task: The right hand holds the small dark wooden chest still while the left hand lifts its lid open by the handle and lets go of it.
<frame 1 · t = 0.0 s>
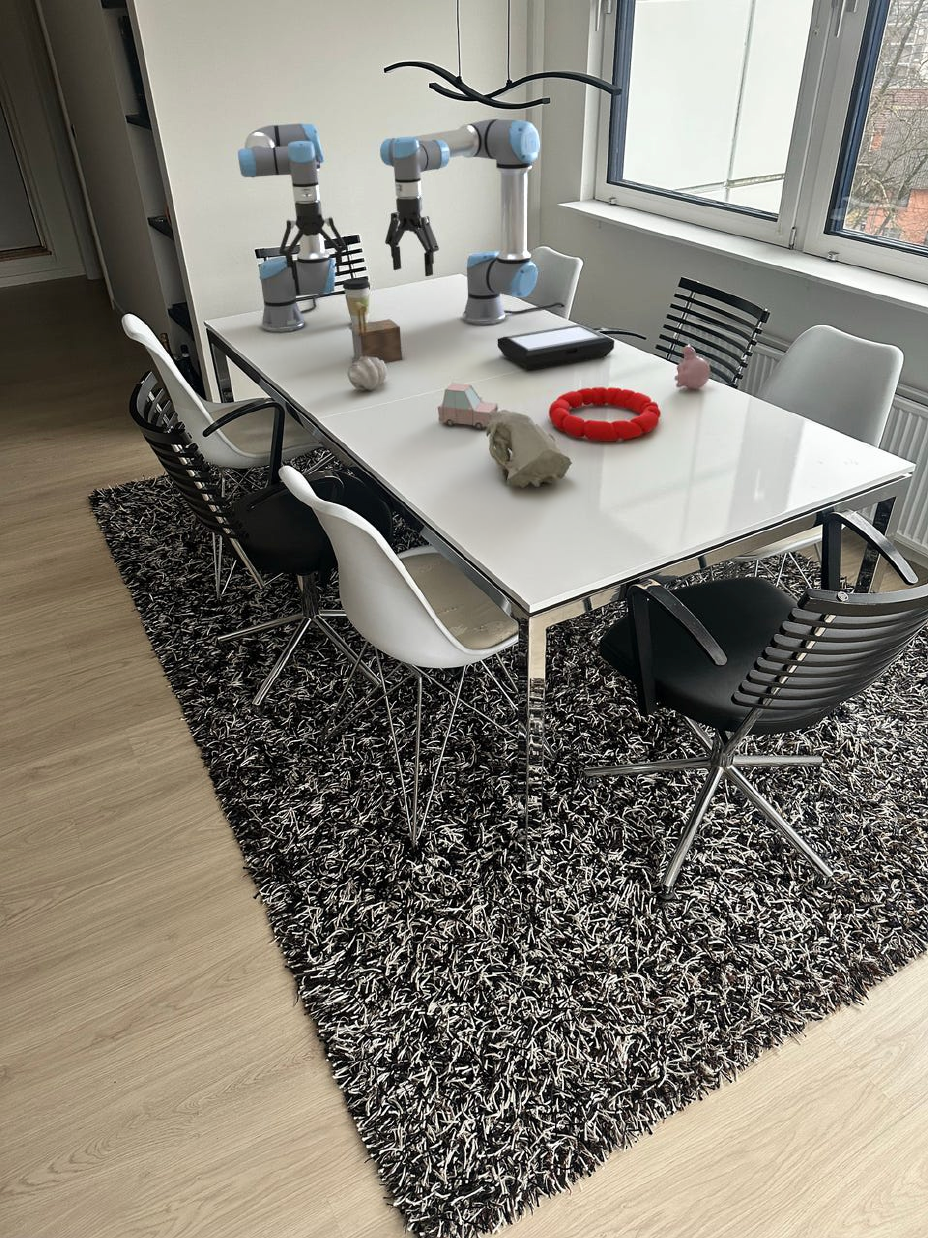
left hand: (316, 276, 273), 28 cm above the table, tool pointing down, fingers open, 13 cm apart
right hand: (413, 272, 274), 28 cm above the table, tool pointing down, fingers open, 13 cm apart
lid: (373, 315, 286), point 14 cm above the table, hinge at 0.0°
coffee cup: (360, 323, 327), on the table
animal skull: (520, 470, 220), on the table
electronic device: (555, 356, 290), on the table
seashell: (369, 389, 270), on the table
figurine: (690, 388, 263), on the table
toy car: (468, 423, 246), on the table
decorative ring: (603, 422, 244), on the table
chest: (378, 358, 294), on the table
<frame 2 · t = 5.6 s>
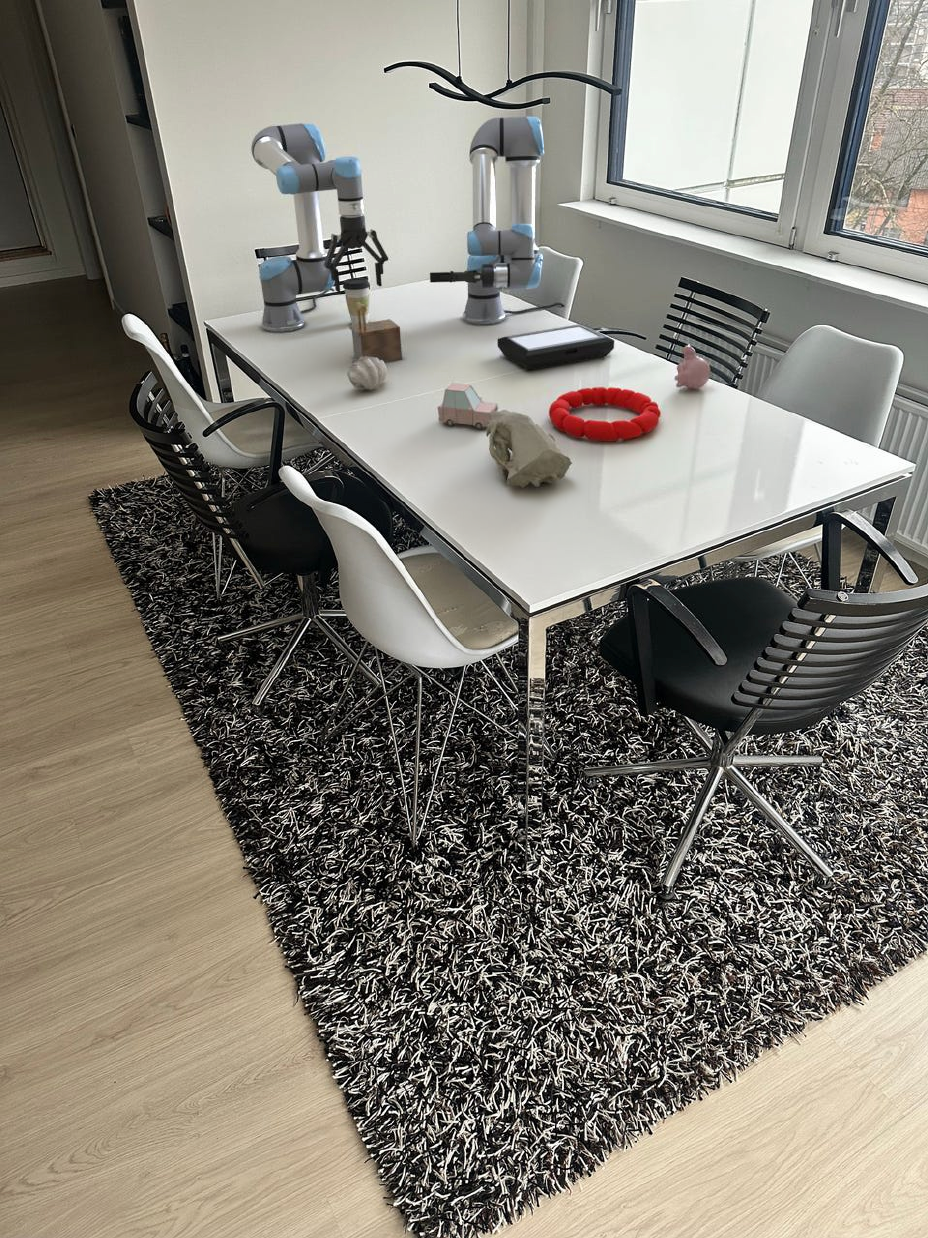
left hand: (358, 288, 279), 23 cm above the table, tool pointing down, fingers open, 13 cm apart
right hand: (429, 277, 295), 21 cm above the table, tool horizontal, fingers open, 13 cm apart
nothing on the table moved.
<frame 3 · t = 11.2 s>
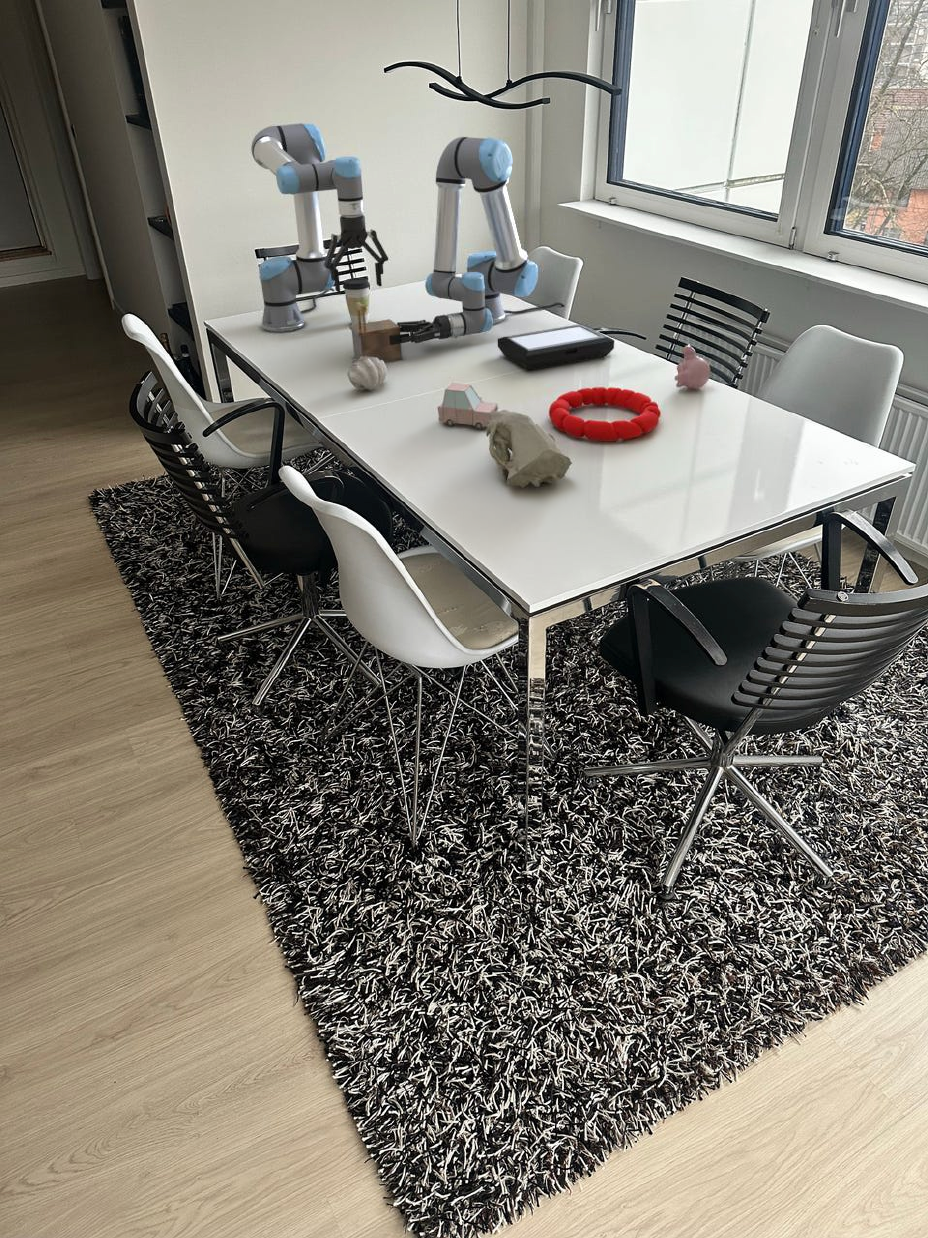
left hand: (358, 288, 279), 23 cm above the table, tool pointing down, fingers open, 13 cm apart
right hand: (384, 336, 291), 7 cm above the table, tool horizontal, fingers closed on chest, 10 cm apart
chest: (378, 358, 294), on the table, touching right hand
everything else where it was.
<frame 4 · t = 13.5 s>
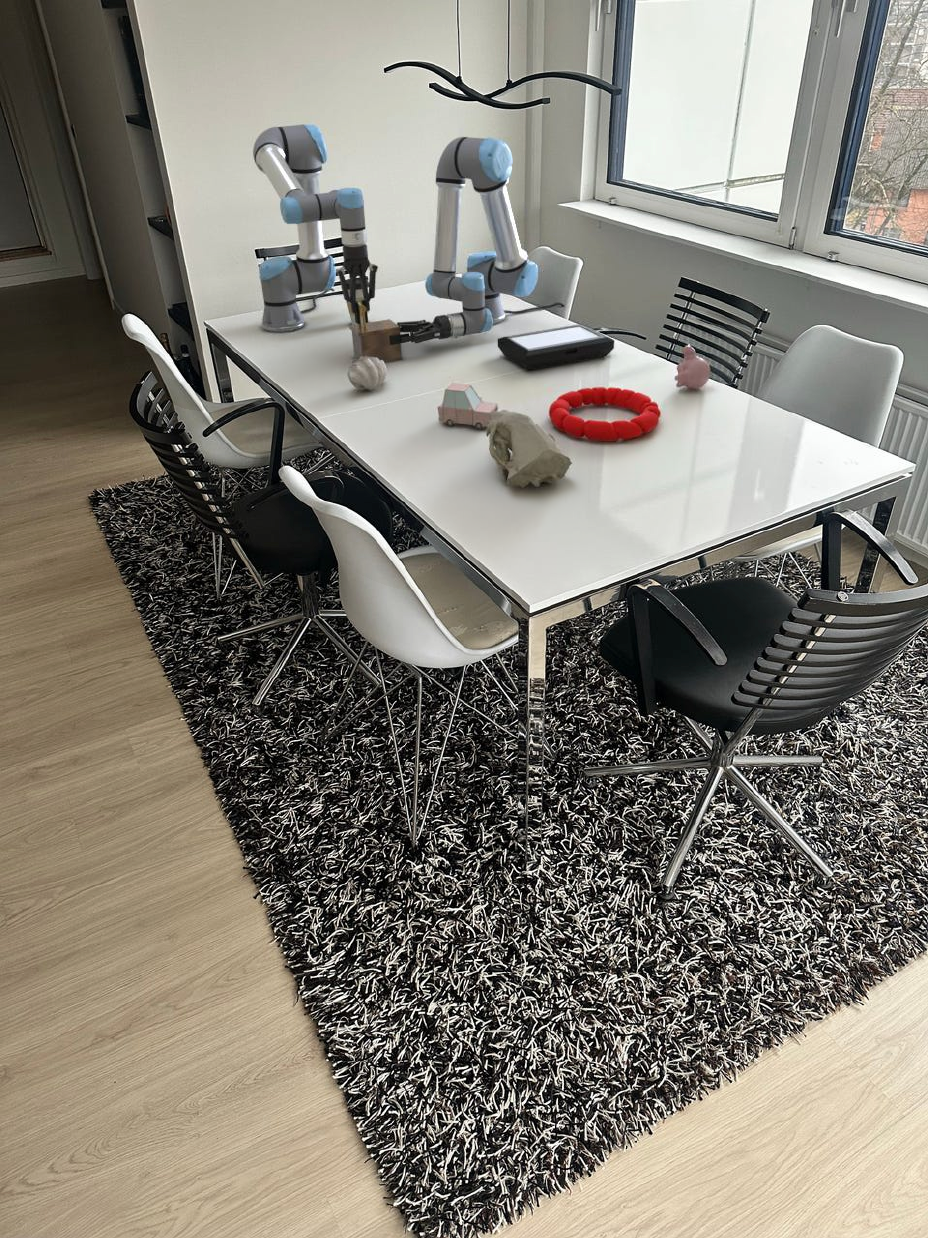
left hand: (361, 321, 285), 12 cm above the table, tool pointing down, fingers closed on lid, 2 cm apart
right hand: (384, 336, 291), 7 cm above the table, tool horizontal, fingers closed on chest, 10 cm apart
lid: (373, 315, 286), point 14 cm above the table, hinge at -0.1°, touching left hand
chest: (378, 358, 294), on the table, touching right hand
everything else where it was.
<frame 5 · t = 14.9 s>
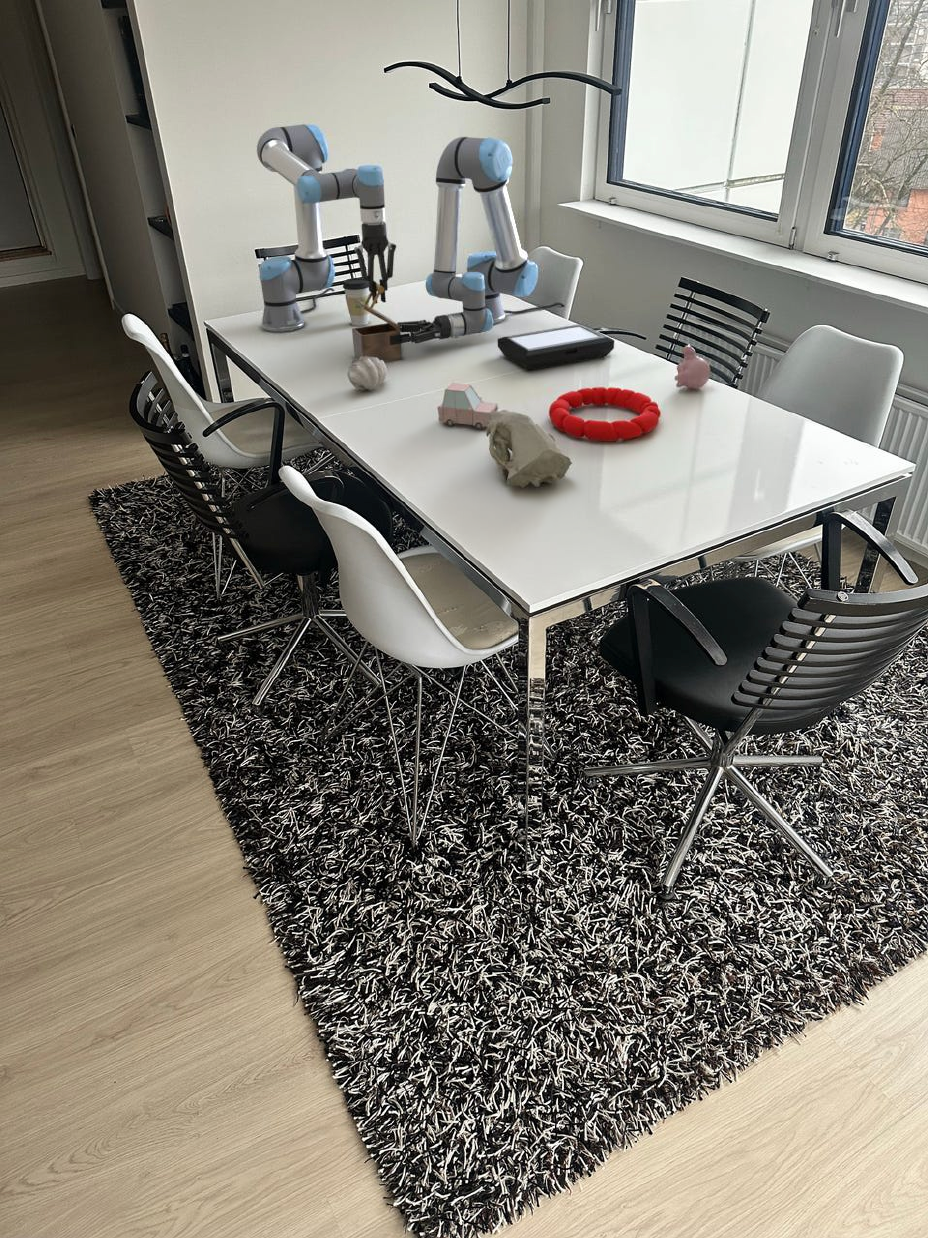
left hand: (379, 301, 284), 18 cm above the table, tool pointing down, fingers closed on lid, 2 cm apart
right hand: (385, 336, 291), 7 cm above the table, tool horizontal, fingers closed on chest, 10 cm apart
lid: (383, 303, 285), point 17 cm above the table, hinge at 35.5°, touching left hand
chest: (378, 358, 294), on the table, touching right hand
everything else where it was.
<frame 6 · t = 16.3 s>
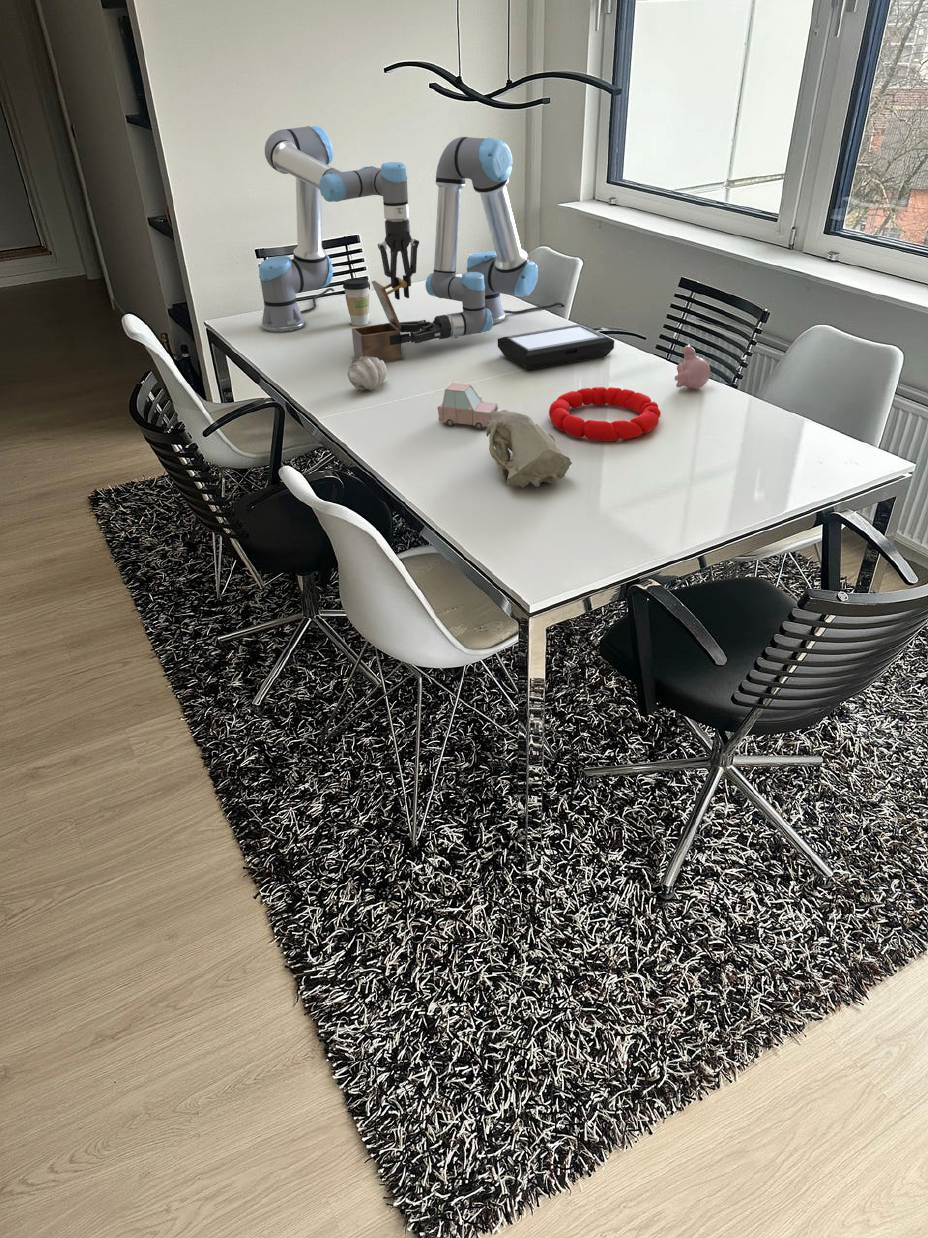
left hand: (402, 297, 287), 18 cm above the table, tool pointing down, fingers open, 2 cm apart
right hand: (385, 336, 291), 7 cm above the table, tool horizontal, fingers closed on chest, 10 cm apart
lid: (396, 299, 286), point 18 cm above the table, hinge at 69.8°
chest: (378, 358, 294), on the table, touching right hand
everything else where it was.
when the right hand's fingers open (7 cm above the table, at t = 20.1 s): chest stays where it is, on the table.
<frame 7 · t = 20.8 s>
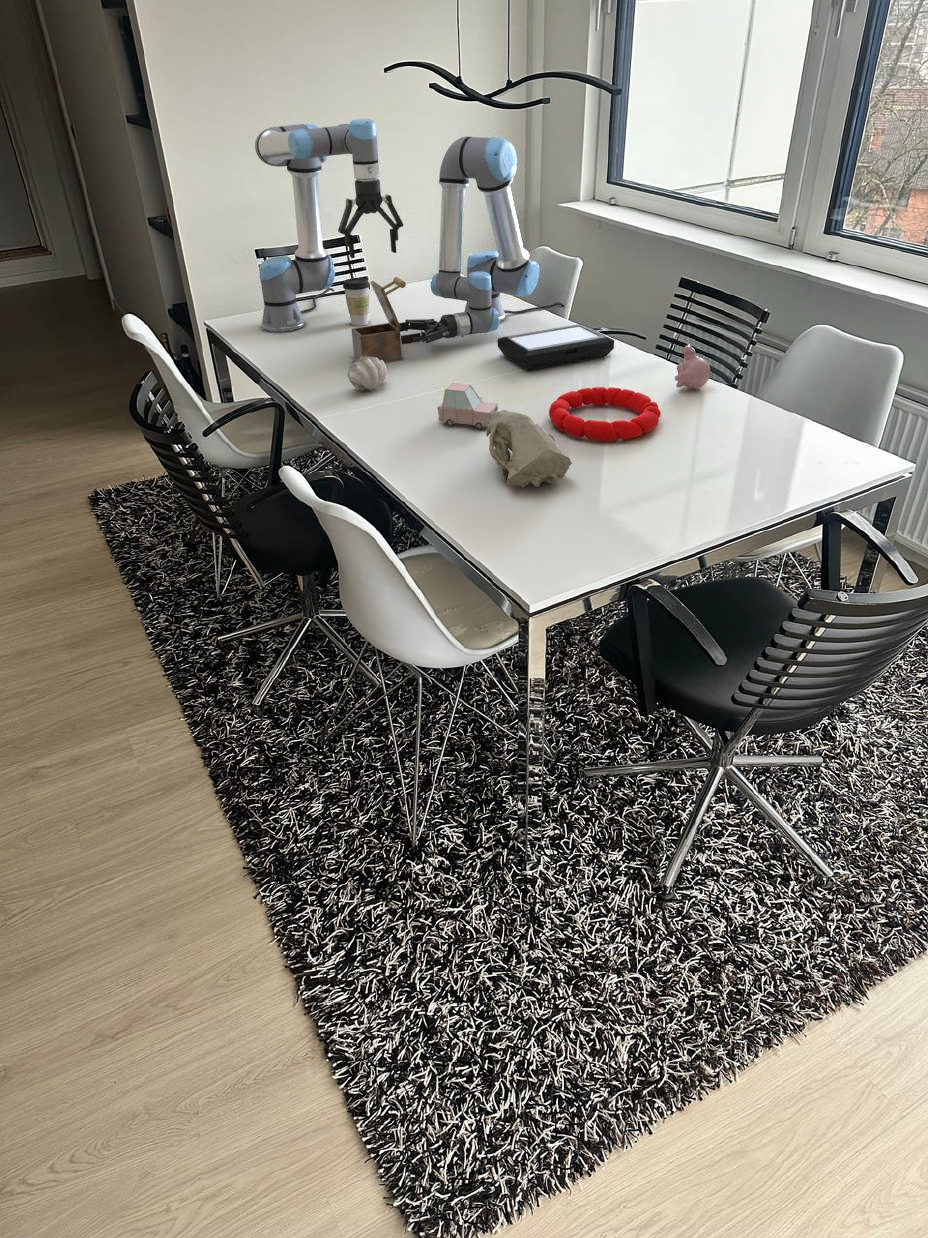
left hand: (373, 254, 276), 32 cm above the table, tool pointing down, fingers open, 13 cm apart
right hand: (394, 334, 292), 7 cm above the table, tool horizontal, fingers open, 13 cm apart
lid: (395, 299, 286), point 18 cm above the table, hinge at 68.9°
chest: (377, 358, 294), on the table
everything else where it was.
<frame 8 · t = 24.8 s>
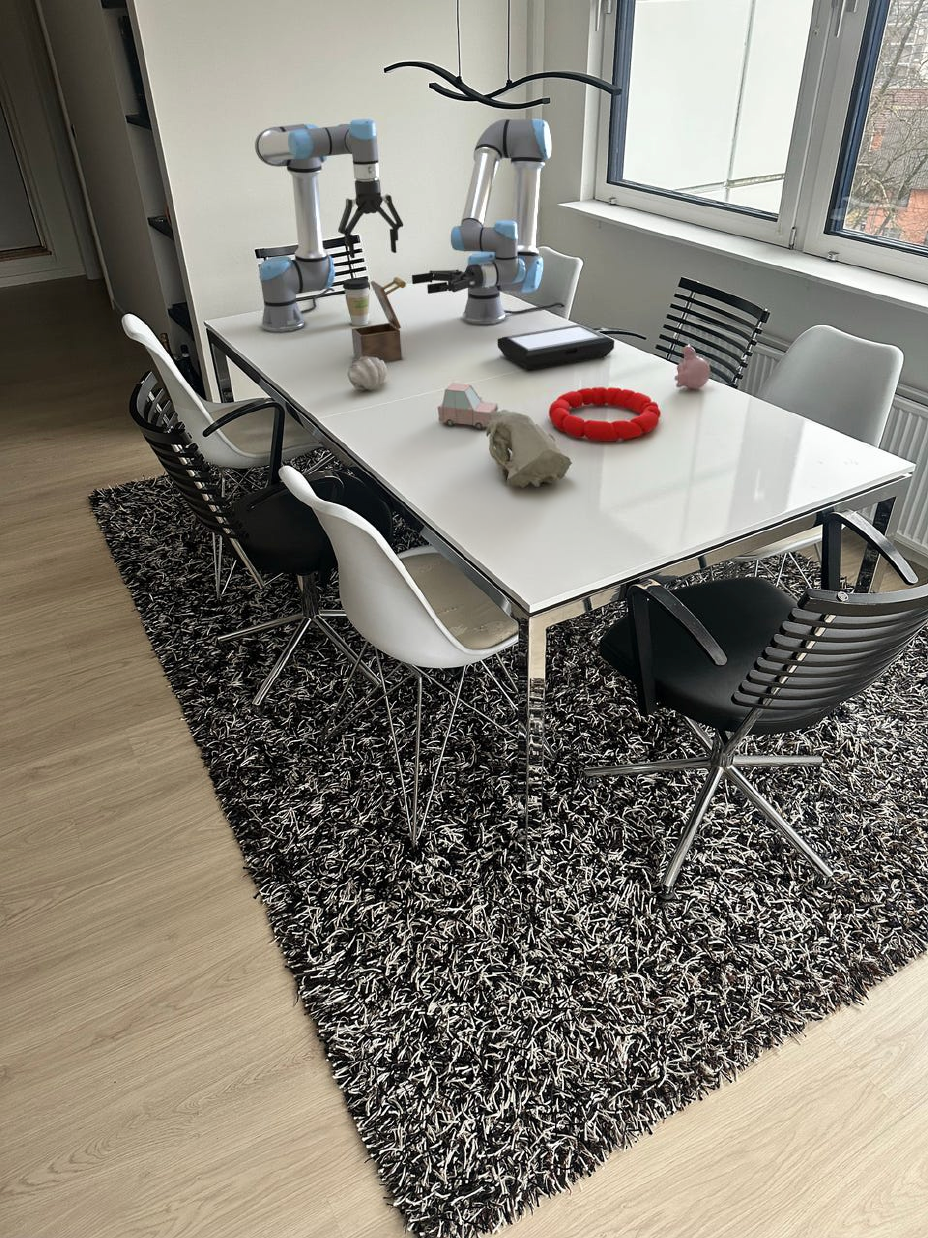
left hand: (373, 254, 276), 32 cm above the table, tool pointing down, fingers open, 13 cm apart
right hand: (419, 284, 287), 22 cm above the table, tool horizontal, fingers open, 13 cm apart
nothing on the table moved.
at the end: lid at +69° (first picture: +0°); the left hand is holding nothing; the right hand is holding nothing; chest tilted 0°; chest never tilted more than 1° during the clip; chest moved 0.1 cm from its start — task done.
